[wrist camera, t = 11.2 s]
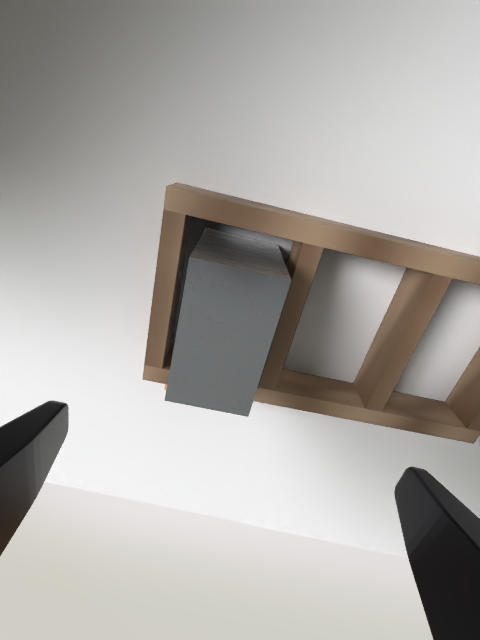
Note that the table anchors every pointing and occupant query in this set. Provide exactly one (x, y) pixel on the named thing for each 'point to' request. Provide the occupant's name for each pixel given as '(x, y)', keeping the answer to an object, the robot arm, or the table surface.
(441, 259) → the slot rack
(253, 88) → the table surface
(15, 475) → the robot arm
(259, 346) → the grey brushed metal block
